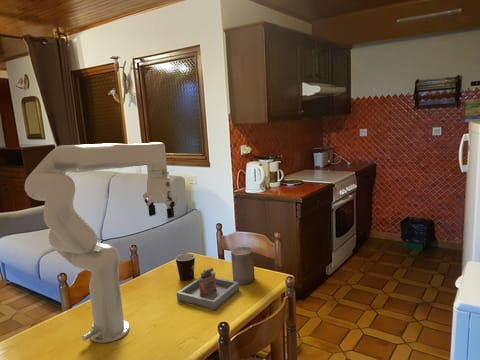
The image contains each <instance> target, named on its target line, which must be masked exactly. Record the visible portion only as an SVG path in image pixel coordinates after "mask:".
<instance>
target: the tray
mask: <svg viewBox="0 0 480 360" xmlns="http://www.w3.org/2000/svg"><path fill="white" fill-rule="evenodd" d="M200 277H201V276H200ZM200 277H198V278H200ZM198 278H197V279H195V280H193V281H192V282H191V283H189V284H187V285H186V286H184V287H183V288H182V289H180V290H179V291H176V301H177V302H180V303H184V304H187V305H191V306H195V307H200V308H202V309H206V310H210V311H215V312H216V310H217V309H219V308H220V307H221V306H222V305H224V304H225V303H226V302H227V301H228V300H230V299H231V298H232V297H233V296H235V294H237V293H238V292H239V291H240V285H239V282H235V281H233V280H229V279H224V278H220V277H216V276H215V282H216V290H217V291H216V292H214V293H213V294H211V295H209V296H206V297H200V286H199V280H198Z"/></svg>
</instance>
